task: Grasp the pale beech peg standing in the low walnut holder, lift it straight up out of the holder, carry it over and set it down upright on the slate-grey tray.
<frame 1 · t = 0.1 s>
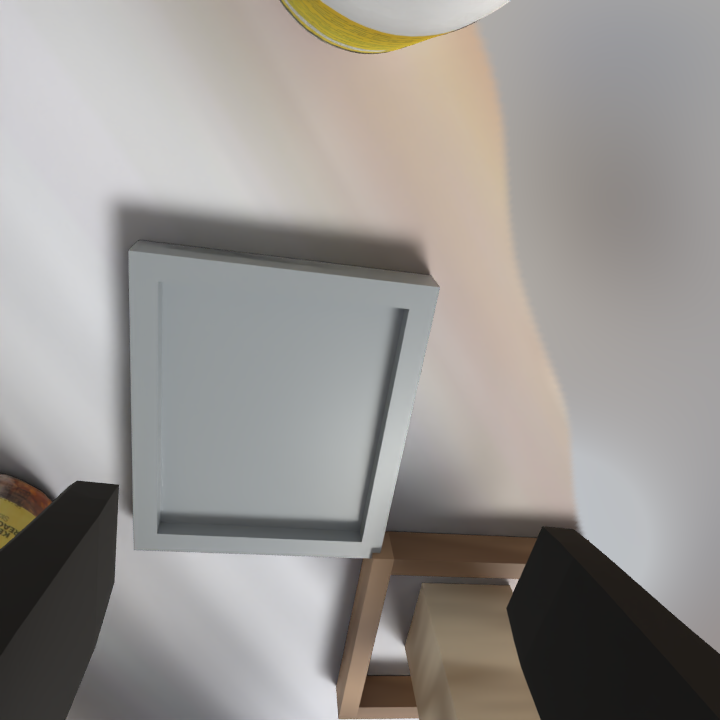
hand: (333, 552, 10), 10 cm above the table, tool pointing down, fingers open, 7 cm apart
peg: (482, 703, 22), in the holder
holder: (456, 617, 25), on the table
tray: (274, 410, 20), on the table
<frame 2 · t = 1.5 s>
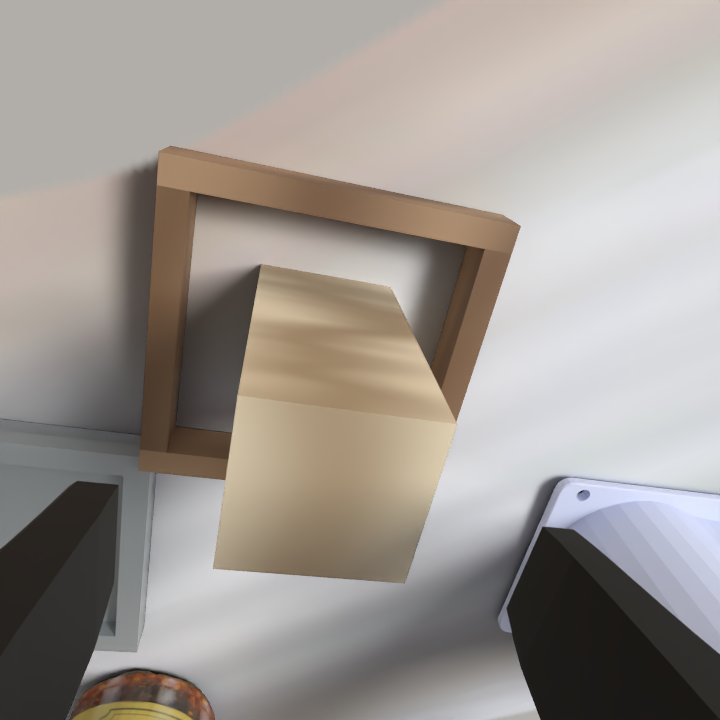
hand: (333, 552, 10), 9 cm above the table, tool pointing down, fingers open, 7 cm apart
peg: (321, 397, 14), in the holder
holder: (315, 336, 18), on the table
sauce bottle: (144, 702, 25), on the table
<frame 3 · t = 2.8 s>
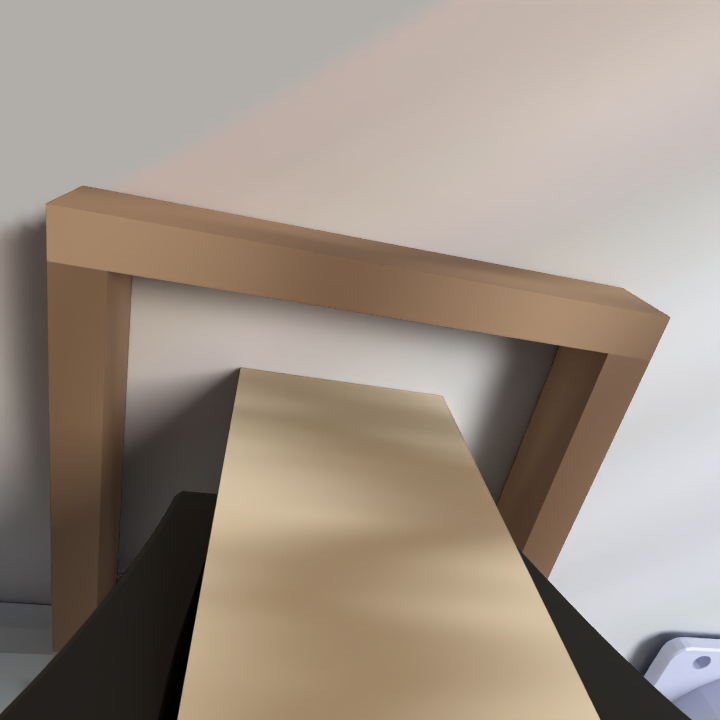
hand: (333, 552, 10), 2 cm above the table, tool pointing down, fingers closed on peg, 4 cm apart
peg: (341, 632, 8), in the holder, touching gripper
holder: (326, 466, 12), on the table
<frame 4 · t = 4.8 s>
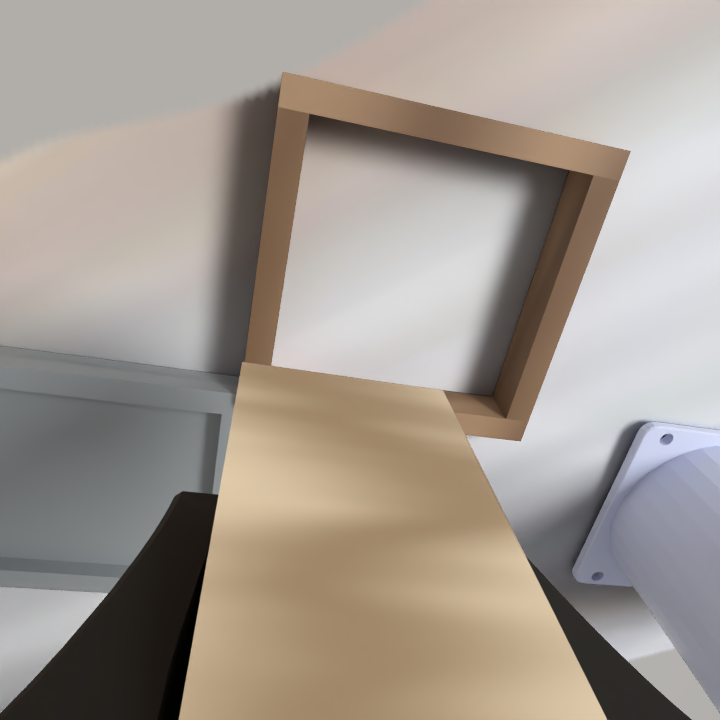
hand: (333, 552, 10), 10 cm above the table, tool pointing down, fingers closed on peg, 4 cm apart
peg: (342, 623, 8), point 11 cm above the table, touching gripper
holder: (412, 272, 18), on the table
tray: (78, 470, 20), on the table
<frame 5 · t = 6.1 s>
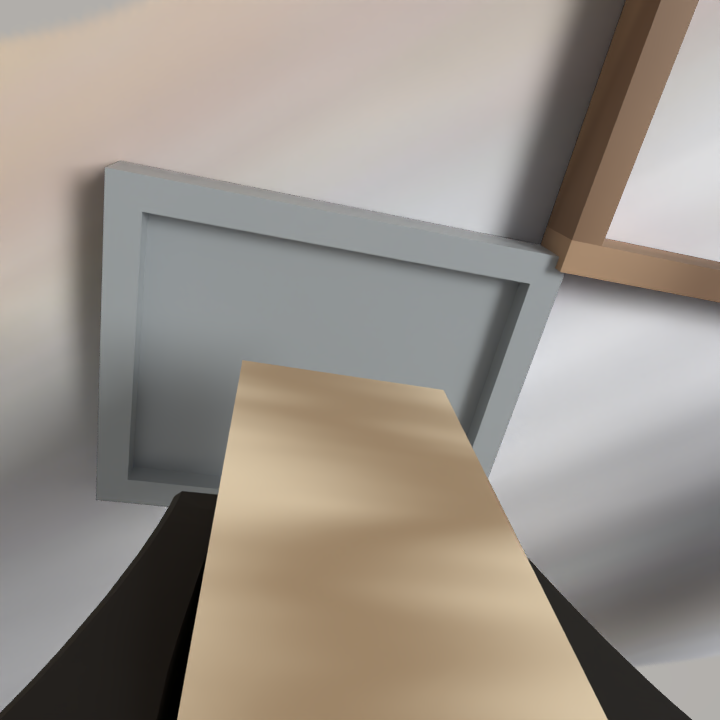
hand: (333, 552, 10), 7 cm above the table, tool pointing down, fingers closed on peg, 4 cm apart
peg: (341, 622, 8), point 9 cm above the table, touching gripper
tray: (318, 365, 16), on the table
when the fingers open (4 cm above the table, at t = 7.1 s): peg stays where it is, resting on tray.
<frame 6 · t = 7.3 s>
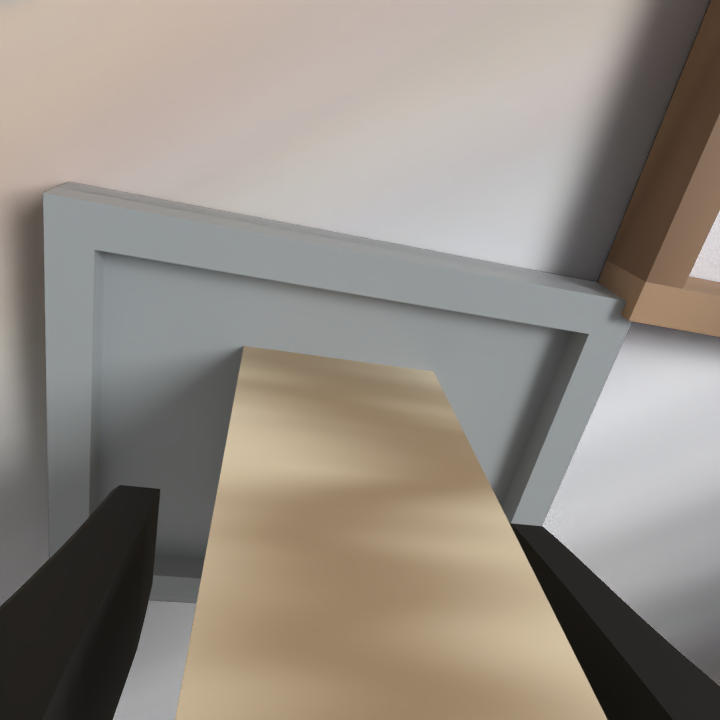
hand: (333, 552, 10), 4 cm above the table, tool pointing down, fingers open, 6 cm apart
peg: (338, 580, 9), point 5 cm above the table, touching tray
tray: (322, 427, 13), on the table
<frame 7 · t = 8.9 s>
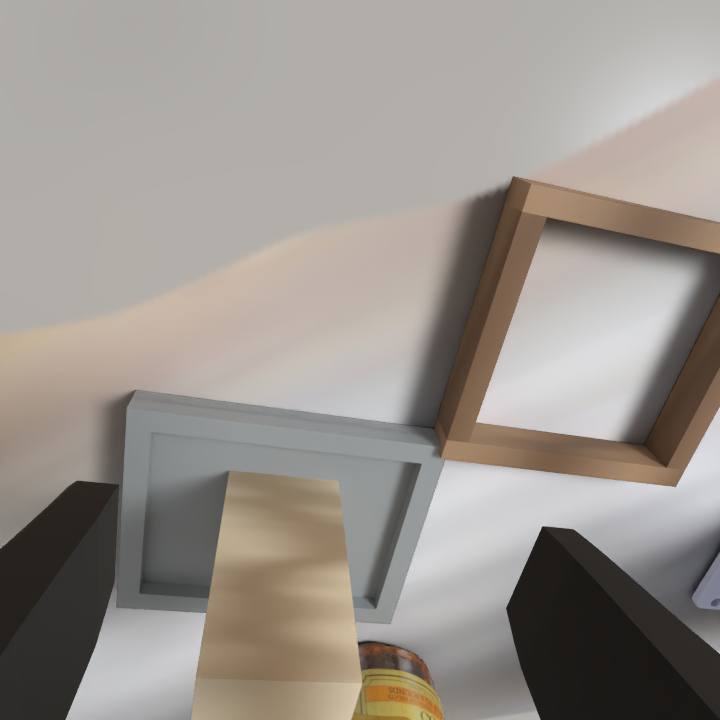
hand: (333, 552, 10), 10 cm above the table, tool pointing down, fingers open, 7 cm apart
peg: (274, 604, 18), point 5 cm above the table, touching tray
holder: (593, 340, 20), on the table
sauce bottle: (365, 673, 27), on the table
tray: (277, 509, 22), on the table
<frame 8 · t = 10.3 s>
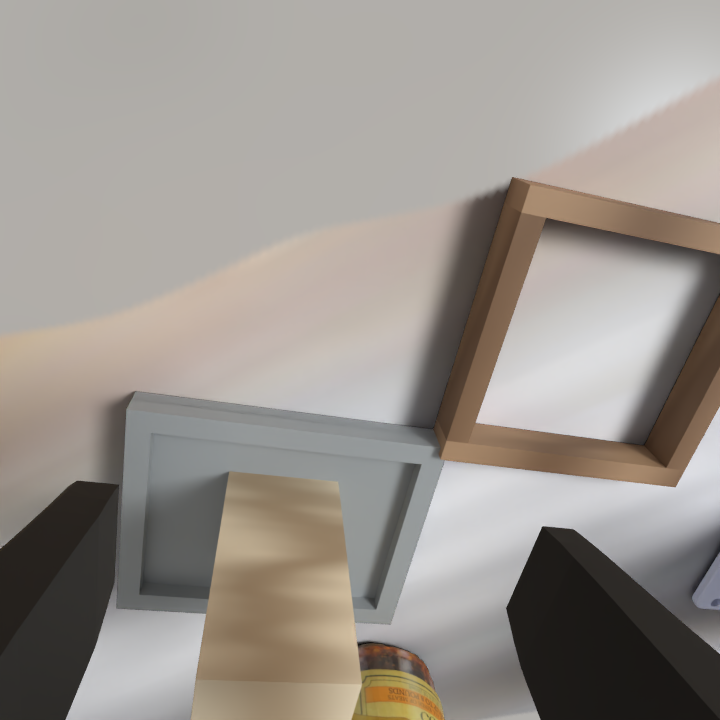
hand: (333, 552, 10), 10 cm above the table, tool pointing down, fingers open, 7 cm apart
peg: (274, 605, 18), point 5 cm above the table, touching tray
holder: (592, 340, 20), on the table
sauce bottle: (365, 673, 27), on the table
tray: (277, 509, 22), on the table
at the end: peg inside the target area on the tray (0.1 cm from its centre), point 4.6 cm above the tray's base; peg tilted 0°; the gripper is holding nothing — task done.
